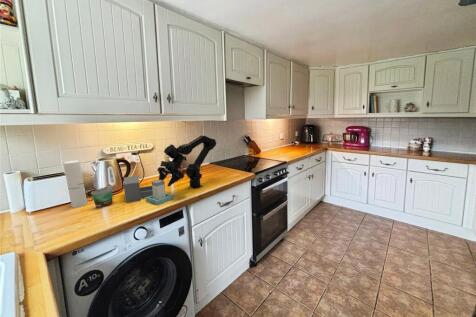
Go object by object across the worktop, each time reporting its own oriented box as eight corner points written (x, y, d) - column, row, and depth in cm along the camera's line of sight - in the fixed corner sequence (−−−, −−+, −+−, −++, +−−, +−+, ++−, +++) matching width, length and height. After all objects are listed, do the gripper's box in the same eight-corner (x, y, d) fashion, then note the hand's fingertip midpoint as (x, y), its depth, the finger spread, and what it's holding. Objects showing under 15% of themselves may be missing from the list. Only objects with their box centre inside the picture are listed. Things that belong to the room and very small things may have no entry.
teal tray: (162, 195, 133) (161, 191, 133) (173, 199, 127) (172, 195, 127) (146, 201, 125) (146, 197, 124) (157, 205, 119) (157, 201, 118)
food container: (103, 209, 116) (100, 191, 114) (93, 208, 117) (90, 191, 115) (120, 200, 127) (117, 184, 125) (111, 200, 129) (108, 184, 127)
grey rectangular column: (90, 203, 125) (82, 160, 120) (77, 208, 118) (69, 163, 114) (81, 201, 127) (73, 160, 122) (68, 206, 121) (60, 163, 116)
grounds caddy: (160, 197, 130) (159, 179, 127) (166, 198, 127) (164, 180, 125) (153, 199, 126) (151, 181, 123) (158, 201, 123) (156, 183, 121)
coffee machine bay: (154, 189, 145) (153, 173, 143) (157, 197, 131) (155, 179, 129) (126, 194, 138) (124, 177, 136) (126, 202, 124) (123, 184, 122)
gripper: (158, 154, 133) (144, 175, 127) (178, 156, 123) (164, 180, 116) (170, 163, 141) (157, 184, 135) (189, 167, 131) (177, 190, 124)
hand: (163, 184), depth 127 cm, fingers open, 9 cm apart
